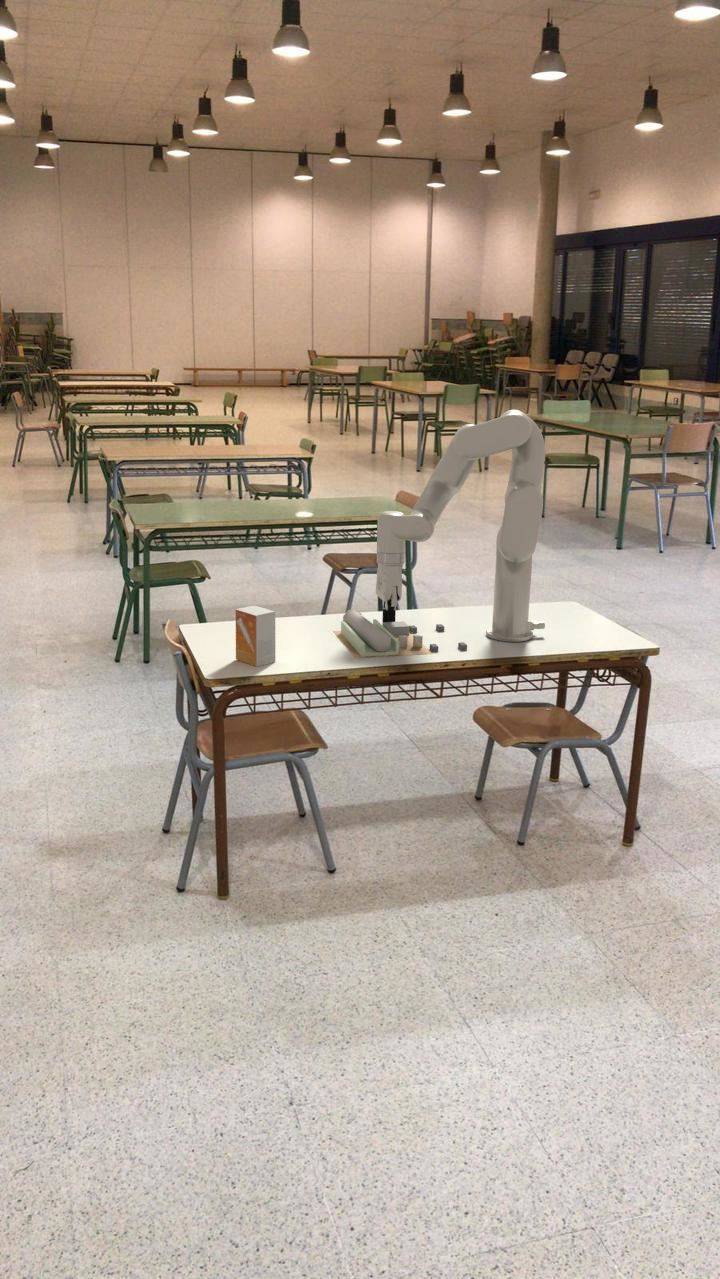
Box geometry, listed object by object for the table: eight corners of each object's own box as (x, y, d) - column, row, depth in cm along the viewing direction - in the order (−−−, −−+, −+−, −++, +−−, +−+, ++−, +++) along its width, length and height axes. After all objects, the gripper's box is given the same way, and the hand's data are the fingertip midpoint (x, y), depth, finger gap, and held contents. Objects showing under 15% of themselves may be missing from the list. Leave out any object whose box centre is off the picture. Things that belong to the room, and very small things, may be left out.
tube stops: (441, 633, 296) (441, 624, 295) (466, 654, 277) (467, 645, 276) (408, 634, 293) (409, 625, 293) (432, 656, 274) (432, 646, 274)
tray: (375, 631, 291) (376, 619, 291) (398, 654, 271) (399, 641, 270) (341, 632, 289) (341, 620, 288) (361, 656, 269) (361, 643, 268)
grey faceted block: (403, 630, 293) (404, 621, 292) (409, 635, 288) (409, 626, 288) (382, 631, 291) (382, 622, 291) (387, 636, 287) (387, 627, 286)
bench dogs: (420, 645, 279) (420, 634, 278) (422, 647, 278) (422, 636, 277) (398, 646, 278) (398, 635, 277) (399, 648, 276) (400, 637, 275)
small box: (235, 660, 268) (234, 608, 264) (255, 655, 272) (254, 604, 269) (256, 667, 262) (256, 615, 259) (276, 662, 267) (276, 611, 263)
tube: (397, 637, 269) (364, 612, 291) (378, 632, 266) (346, 607, 289) (390, 657, 269) (357, 630, 292) (371, 652, 267) (339, 625, 290)
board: (404, 631, 296) (404, 627, 295) (433, 658, 273) (433, 653, 272) (333, 635, 291) (333, 631, 291) (355, 662, 268) (356, 658, 267)
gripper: (370, 552, 297) (368, 617, 302) (384, 563, 283) (382, 631, 288) (396, 551, 299) (394, 616, 304) (412, 563, 285) (409, 630, 290)
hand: (388, 623), depth 296 cm, fingers closed
